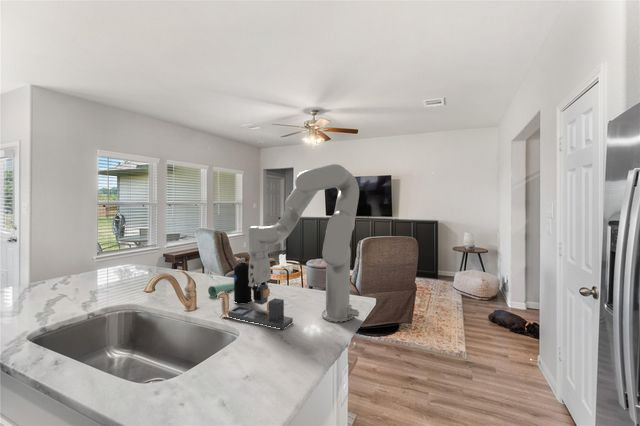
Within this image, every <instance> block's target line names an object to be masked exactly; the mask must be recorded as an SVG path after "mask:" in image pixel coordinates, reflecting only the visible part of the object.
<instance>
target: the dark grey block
mask: <svg viewBox="0 0 640 426" xmlns="http://www.w3.org/2000/svg"><path fill="white" fill-rule="evenodd" d="M267 285H268V284H267ZM267 285H262V284H260V285H259V290H260V300H254V299H253V300H254V301H253V303H254V304H257V305H260V306H261V305H265V304H267V303H268V302H269V301H268V298H269V297H270V290H271V289H270V288H269V285H268V286H267ZM255 286H256V287H257V285H255Z"/></svg>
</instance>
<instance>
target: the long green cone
mask: <svg viewBox="0 0 640 426" xmlns="http://www.w3.org/2000/svg"><path fill="white" fill-rule="evenodd" d="M207 289H208V290H207V293H208V295H209V296H210V297H213V298H216V297H217V296H216V295H217V294H218V293H219V292H220V291H228V292H230V291H232V290H234V282H228V283H220V284H215V285H209V286H208V288H207ZM229 290H230V291H229Z"/></svg>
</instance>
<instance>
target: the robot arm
mask: <svg viewBox="0 0 640 426" xmlns="http://www.w3.org/2000/svg"><path fill="white" fill-rule="evenodd" d="M294 183H295V186H294V188H293V189H292V191H291V192H290V194H289V195H288V196H287V198H286V200H285V201H284V202H285V203H284V210H283V211H284V212H283V213H282V215H281V216H280V219H278V221H277V222H276V224H273V225H269V226H264V225H251V226H250V227H249V228H248V251H249V252H248V253H249V261H248V262H249V263H248V264H249V284H248V286H249V287H251V291H252V292H253V295H252V297H253V299H252V300H260V290H259V285H260V284H262V285H267V286H268V287H269V285H268V284H269V281H270V280H271V278H272V269H271V261H270V258H269V256H268V255H269V253H268V244H269V245H275V244H279V243H280V242H283V241H285V240H286V239H287V238H288V237H289V236H290V235H291V233H292V232H293V230H294V229H295V227H296V226H297V224H298V222H299V220H300V218H301V217H302V215H303V213H304V211H306V209H307V208H308V205H309V204H310V203H311V201H312V200H313V199H314V197H315V196H316V194H317V193H318V192H319V191H323V190H328V189H329V190H330V189H333V188H334V189H336V190H337V198H336V202H335V206H334V207H335V208H334V212H333V214H332V215H331V216H330V217H329V219H328V222H327V225H326V229H325V235H324V240H323V246H322V254H321V256H322V259H323V261H324V262H325V264H326V267H325V270H326V271H325V310H323V311H322V312H321V317H322V318H323V319H324V318H325V319H327V320H326V321H328V320H330V321H329V322H331V321H346V322H348V321H347V320H349V321H351V320H353V318H354V317H357V318H359V316H360V311H359V310H358V309H356V308H355V309H354V308H353V305H352V304H350V294H351V293H350V287H351V284H350V281H351V280H350V279H351V256H352V255H351V252H352V251H351V246H350V245H351V241H352V235H353V231H354V229H355V226H356V223H355V222H356V216H357V211H358V210H357V209H358V205H359V198H360V186H359V183H358V180H357V179H356V177H355V176H354V175H353V174H352V173H351V171H349V170H348V169H346V168H345V167H344V166H343V165H340V164H337V163H334V164H333V163H331V164H329V165H323V166H320V167H315V168H311V169H307V170H304V171H301V172H299V174H298V175H297V176H296V178H295V181H294ZM256 286H257V287H256ZM325 319H324V320H325ZM350 319H351V320H350Z"/></svg>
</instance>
